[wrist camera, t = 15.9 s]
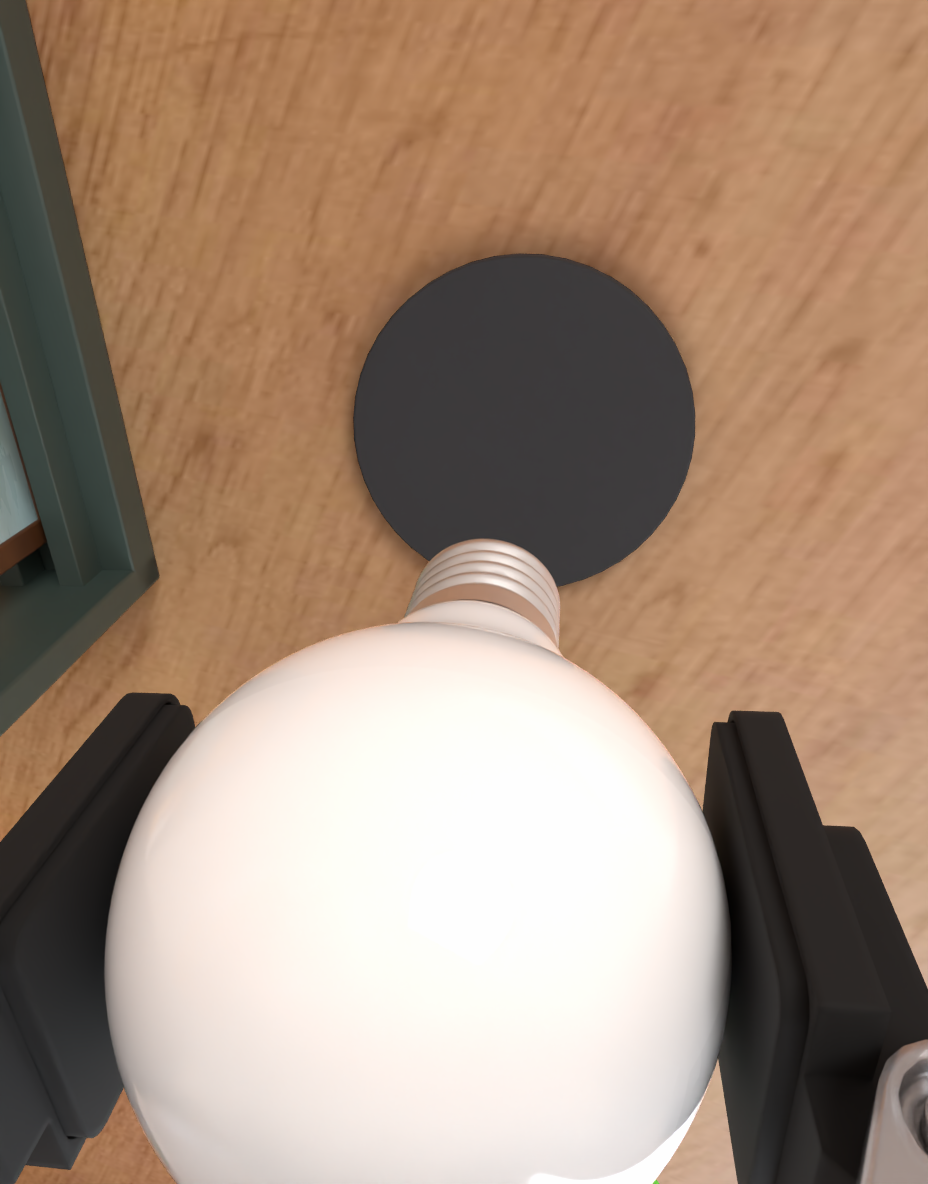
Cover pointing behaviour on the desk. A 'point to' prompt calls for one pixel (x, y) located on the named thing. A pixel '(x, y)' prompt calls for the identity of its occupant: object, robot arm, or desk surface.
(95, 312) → the window frame
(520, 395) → the coaster
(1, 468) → the window sash
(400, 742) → the lightbulb
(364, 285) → the desk surface
